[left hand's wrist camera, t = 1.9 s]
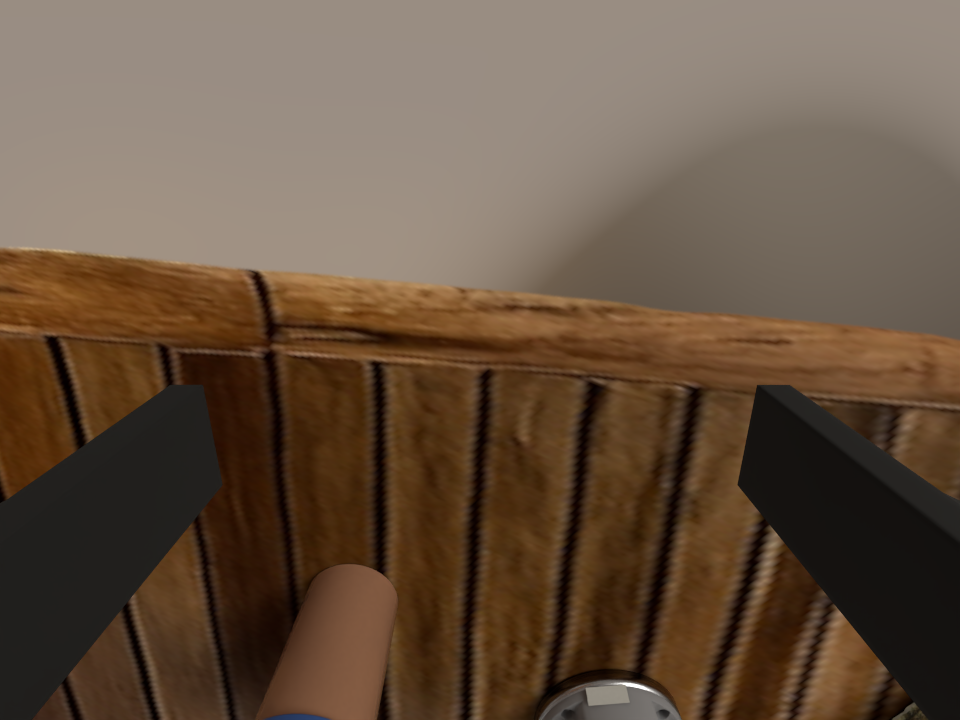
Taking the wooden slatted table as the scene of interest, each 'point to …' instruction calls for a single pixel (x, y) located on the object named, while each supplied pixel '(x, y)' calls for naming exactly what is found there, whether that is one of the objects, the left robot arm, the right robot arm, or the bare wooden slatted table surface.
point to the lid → (296, 717)
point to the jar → (336, 648)
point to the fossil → (911, 714)
